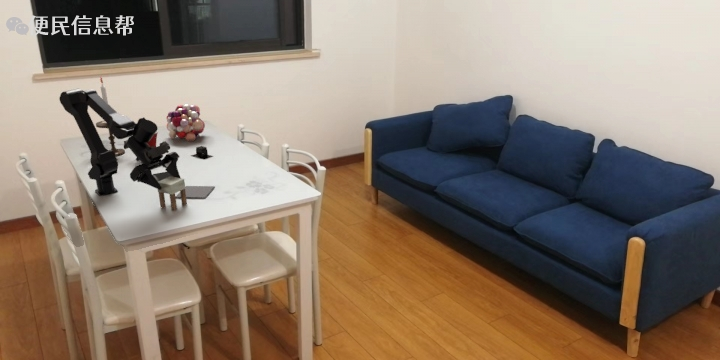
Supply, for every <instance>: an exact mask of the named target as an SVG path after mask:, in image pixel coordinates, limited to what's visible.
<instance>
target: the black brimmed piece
mask: <svg viewBox="0 0 720 360" xmlns="http://www.w3.org/2000/svg"><path fill="white" fill-rule="evenodd" d="M208 152H209V151H208V148H207V147H206V146H202V145H201V146H197V147H195V153H194V154H192V155H190V157H194V158H195V159H196V158H197V159H201V160H208V159H210V158H213V157H214V155H210V154H209V153H208Z"/></svg>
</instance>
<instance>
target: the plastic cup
mask: <svg viewBox="0 0 720 360" xmlns="http://www.w3.org/2000/svg"><path fill="white" fill-rule="evenodd" d="M158 133H159V130H157V131H156V133H155V134H154V136H153V137H152V138H151V140H150V141H149V142H147V143H148V145H149V146H150V147H151V146H154V147H157V138H158Z"/></svg>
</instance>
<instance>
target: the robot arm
mask: <svg viewBox="0 0 720 360" xmlns="http://www.w3.org/2000/svg"><path fill="white" fill-rule="evenodd" d="M58 100H59V103H60V104H61V106H62V107H63V109H64V110H65V111H66V112H67V113H68V114H70V115H71V116H72V117H73V119H74V121H75V123H76V125H77V126H78V129H79V130H80V133H81V134H82V137H83V138H84V140H85V144H86V145H87V147H88V150H89V152H90V162H89V163H90V164H91V168H90V169H89V171H88V173H87V175H88V177H89V179H90V180H93V181H94V180H95V183H96V189H95V190H94V191H95V192H96V194H98V196H100V197H101V196H105V195H109V194H112V193H118V191H119V190H118V189H117V188H115V184H114V179H113V175H116V174H118V168H119V161H118V158H117V156H115V154H114V152H113V151H112V150H111V149H107V148H106V146H105V145H104V143H103V140H102V139H101V137H100V135H99V132H98V130H97V127H96V125H95V124H94V122H93V120H92V118H91V116H90V113H89V111H88V110H89V107H90V109H92V111H94V112H95V114H97V115H98V116H99V117H100V118H101V119H102V121H106V122H107V124H108V125H109V129H108V131H109V130H110V131H111V132H112V134H113V136H115V139H117V140H122V139H126V138H127V140H124V141H123V149H124V150H126V149H129V151H131V152H132V153H133V155H134V156H135V157H136V158H135V161H136V162H140V163H139V164H137V165H135V166H134V167H133V169H132V170H131V172H130V174H129V177H130V178H129V179H131V181H133V182H136V181H137V183H143V184H145V185H147V186H149V187H153V188H155V189H157V190H158V189H159V190H161V189H162V187H161V186H160V184H159V183H158V182H157V180H156V179H155V178H154V177H153V173H152V170H155V169H157V168H160V167H162V168H165V170H164V171H165V172H168V173H169V174H171V175H172V176H173V177H176V178H181V175H180V172H179V170H178V166H177V164H178V162H179V158H180V155H179V154H178V153H177V152H176V151H171V152H170V151H169V150H170V149H171V146H170V144H169V143H168V142H167V141H166V140H165V141H162V142H161V143H159V145H157V146H156V147H154V146H151V147H150V146H149V145H148V143H147V142H149V141H150V140H151V138H152V137H153V136H154V134H155V133H156V131H158V125H157V123H155V122H153V121H152V120H149V119H147V118H145V117H143V116H142V117H141V118H140V117H139V118H138V120H137V122H135V121H134V120H133V119H131V118H130V117H128V116H127V115H123V114H121V113H119V112H117V111H116V110H115V109H114V108H113V107H112V106H111V105H110V104H109V103H108V104H107V103H106V102H105V101H104V100H103V98H102V96H100V95H99V94H98V92H97V90H95V89H93V88H91V89H86V90H82V89H80V88H76V89H71V90H66V91H65V90H64V91H62V92H61V93H60V96H59V99H58ZM109 150H111V151H109ZM164 155H165V156H164Z"/></svg>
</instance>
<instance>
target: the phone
mask: <svg viewBox="0 0 720 360" xmlns="http://www.w3.org/2000/svg"><path fill="white" fill-rule="evenodd" d="M152 175H153V177H154V178H155V179H156V180H157V182H158V181H161V180H163V179H165V178H167V177H170V176H171V177H173V176H172V175H171V174H169V173H168V172H167V171H163V172H157V173H152Z"/></svg>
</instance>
